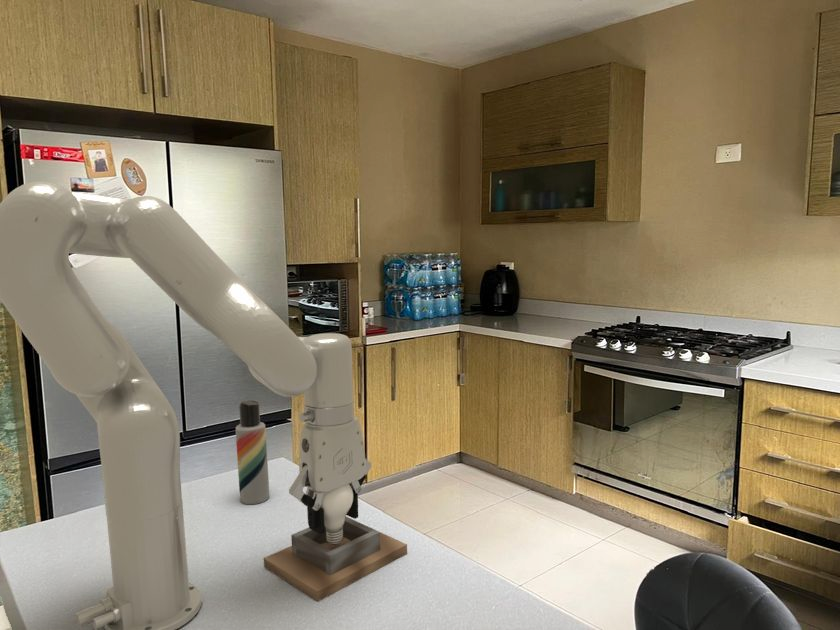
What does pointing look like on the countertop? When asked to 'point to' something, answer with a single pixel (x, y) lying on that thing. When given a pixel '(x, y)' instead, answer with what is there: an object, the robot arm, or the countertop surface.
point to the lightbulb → (336, 512)
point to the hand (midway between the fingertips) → (334, 522)
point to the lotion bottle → (252, 455)
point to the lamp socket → (333, 558)
